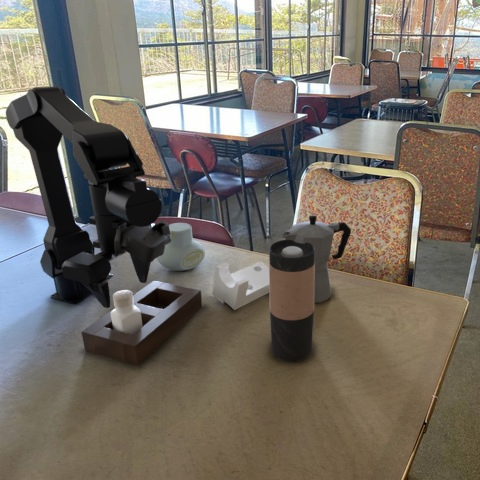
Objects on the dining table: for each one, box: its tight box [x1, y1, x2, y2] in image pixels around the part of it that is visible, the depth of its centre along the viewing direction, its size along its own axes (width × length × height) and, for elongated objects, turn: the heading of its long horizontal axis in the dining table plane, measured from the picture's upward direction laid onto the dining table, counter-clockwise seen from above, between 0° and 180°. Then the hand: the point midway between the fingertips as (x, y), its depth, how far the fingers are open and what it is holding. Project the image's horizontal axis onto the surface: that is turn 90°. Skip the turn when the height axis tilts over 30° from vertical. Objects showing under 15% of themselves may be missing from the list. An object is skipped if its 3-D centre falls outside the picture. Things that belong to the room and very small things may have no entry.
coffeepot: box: [281, 214, 352, 304], centre depth 101 cm, size 15×9×18 cm, turn 113°
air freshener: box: [156, 222, 206, 272], centre depth 113 cm, size 11×8×10 cm
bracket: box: [211, 260, 269, 311], centre depth 102 cm, size 13×7×8 cm, turn 139°
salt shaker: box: [110, 289, 143, 335], centre depth 85 cm, size 4×4×10 cm
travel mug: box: [268, 239, 315, 363], centre depth 82 cm, size 8×8×20 cm
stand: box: [81, 280, 203, 366], centre depth 90 cm, size 11×20×4 cm, turn 161°
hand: (125, 294), depth 83 cm, fingers open, 9 cm apart
